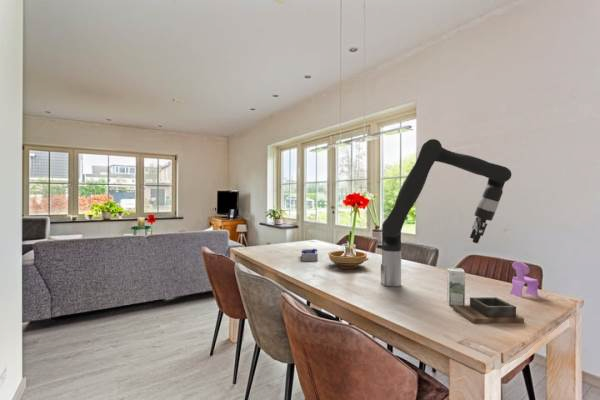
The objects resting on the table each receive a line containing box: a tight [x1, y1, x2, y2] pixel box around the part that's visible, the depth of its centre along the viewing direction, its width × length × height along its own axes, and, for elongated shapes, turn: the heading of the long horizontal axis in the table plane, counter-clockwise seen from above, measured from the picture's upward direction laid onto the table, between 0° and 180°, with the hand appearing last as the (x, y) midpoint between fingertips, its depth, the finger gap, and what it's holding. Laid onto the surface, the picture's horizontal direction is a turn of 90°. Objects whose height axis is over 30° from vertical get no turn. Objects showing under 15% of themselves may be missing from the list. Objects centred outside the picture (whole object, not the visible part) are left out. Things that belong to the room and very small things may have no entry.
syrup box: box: [446, 267, 466, 307], centre depth 124 cm, size 6×6×14 cm
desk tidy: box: [301, 248, 319, 262], centre depth 216 cm, size 10×18×5 cm, turn 1°
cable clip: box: [301, 248, 318, 254], centre depth 216 cm, size 12×4×6 cm, turn 132°
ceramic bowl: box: [327, 250, 369, 269], centre depth 192 cm, size 30×24×8 cm
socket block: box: [452, 296, 525, 324], centre depth 112 cm, size 18×13×5 cm
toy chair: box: [509, 260, 539, 298], centre depth 136 cm, size 8×9×15 cm
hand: (473, 240), depth 144 cm, fingers open, 8 cm apart
